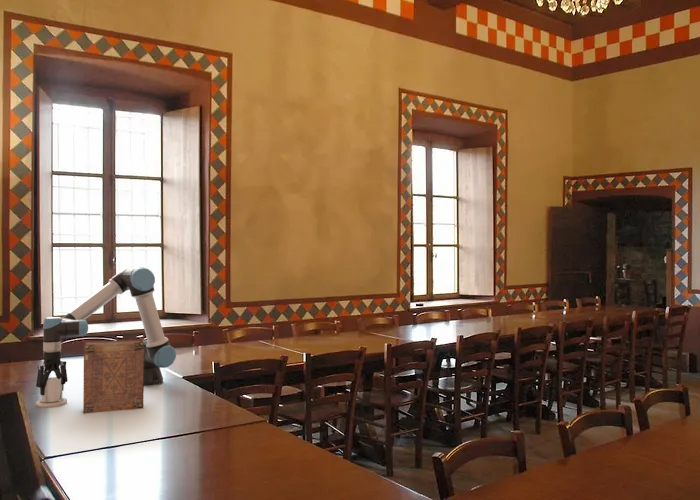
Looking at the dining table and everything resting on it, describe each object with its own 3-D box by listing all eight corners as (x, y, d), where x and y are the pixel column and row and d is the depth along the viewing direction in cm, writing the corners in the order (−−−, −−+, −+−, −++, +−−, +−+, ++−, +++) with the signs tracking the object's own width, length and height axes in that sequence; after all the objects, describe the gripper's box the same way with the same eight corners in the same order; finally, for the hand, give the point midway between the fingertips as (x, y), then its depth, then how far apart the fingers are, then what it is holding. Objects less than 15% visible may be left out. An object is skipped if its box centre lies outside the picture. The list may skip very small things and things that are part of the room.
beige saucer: (71, 400, 300) (71, 397, 300) (60, 407, 287) (60, 403, 287) (43, 400, 299) (43, 397, 299) (31, 407, 286) (31, 404, 286)
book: (82, 413, 277) (83, 344, 277) (83, 408, 285) (83, 342, 285) (143, 408, 286) (144, 342, 286) (142, 403, 294) (142, 339, 294)
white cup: (43, 399, 295) (43, 377, 295) (61, 397, 298) (61, 376, 298) (41, 403, 288) (41, 381, 288) (60, 401, 291) (60, 380, 291)
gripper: (37, 354, 282) (37, 405, 282) (76, 348, 300) (76, 396, 300) (26, 353, 286) (26, 403, 286) (65, 347, 304) (65, 394, 304)
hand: (52, 399), depth 293 cm, fingers closed on white cup, 8 cm apart
